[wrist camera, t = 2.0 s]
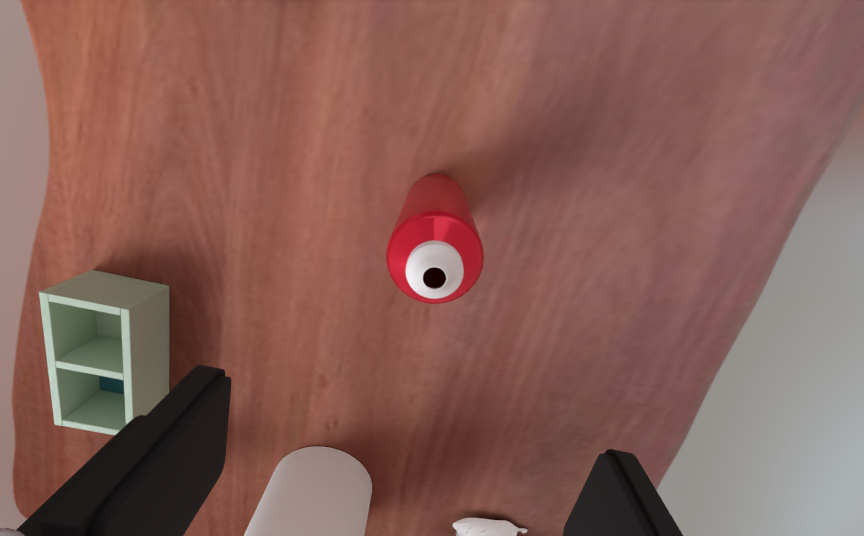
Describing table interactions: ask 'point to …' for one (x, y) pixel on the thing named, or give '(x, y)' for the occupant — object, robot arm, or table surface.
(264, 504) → the cylinder
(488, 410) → the table surface
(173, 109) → the table surface
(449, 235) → the bottle
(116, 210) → the table surface
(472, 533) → the white dragon
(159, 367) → the box
